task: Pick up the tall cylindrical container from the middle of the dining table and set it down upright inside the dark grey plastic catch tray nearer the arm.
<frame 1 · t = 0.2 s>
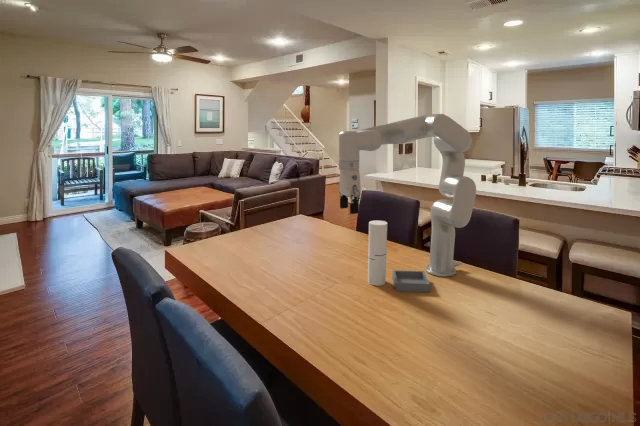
hand: (348, 210, 137), 31 cm above the table, fingers open, 9 cm apart
cylindrical container: (376, 282, 147), on the table
catch tray: (410, 284, 144), on the table
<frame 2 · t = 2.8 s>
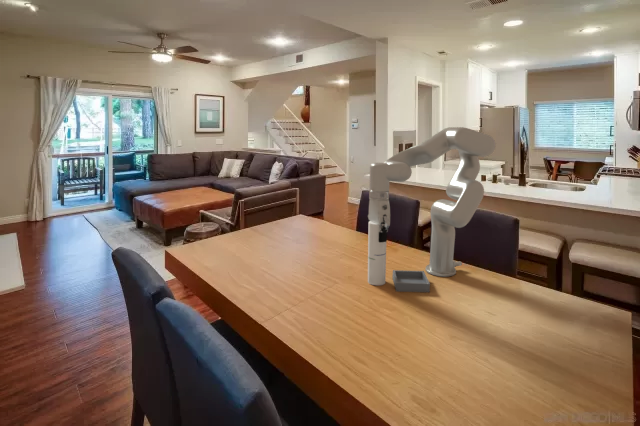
hand: (377, 238, 144), 18 cm above the table, fingers closed on cylindrical container, 7 cm apart
cylindrical container: (376, 282, 147), on the table, touching gripper
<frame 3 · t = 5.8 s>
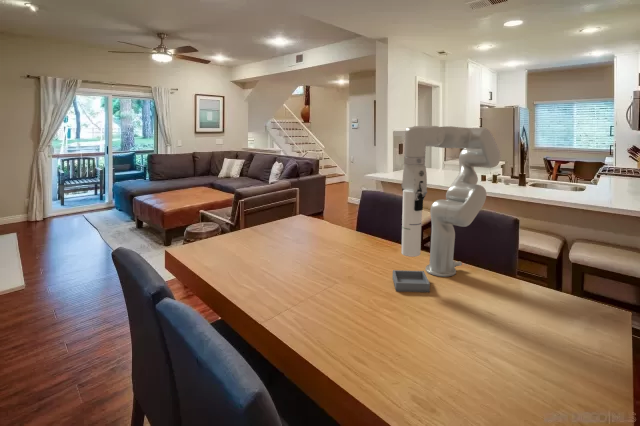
hand: (412, 207, 137), 31 cm above the table, fingers closed on cylindrical container, 7 cm apart
cylindrical container: (410, 253, 141), point 13 cm above the table, touching gripper
when the fingers open (21 cm above the table, at t = 8.9 s): cylindrical container drops 1 cm, resting on catch tray.
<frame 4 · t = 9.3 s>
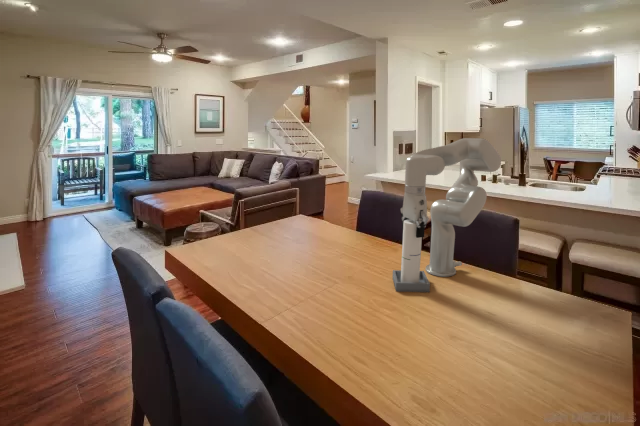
hand: (412, 233, 139), 21 cm above the table, fingers open, 9 cm apart
cylindrical container: (409, 282, 144), point 1 cm above the table, touching catch tray
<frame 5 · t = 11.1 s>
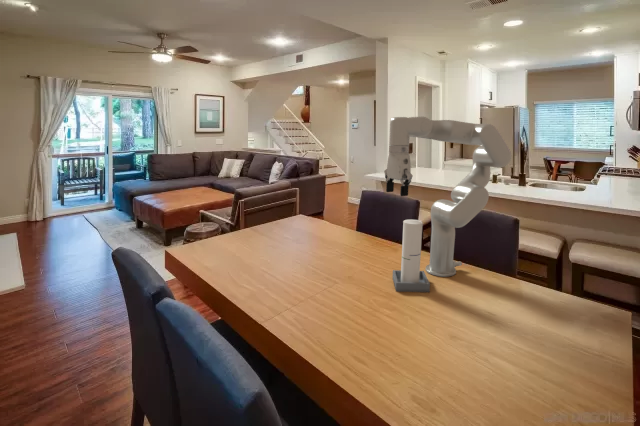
hand: (396, 193, 143), 36 cm above the table, fingers open, 9 cm apart
nothing on the table moved.
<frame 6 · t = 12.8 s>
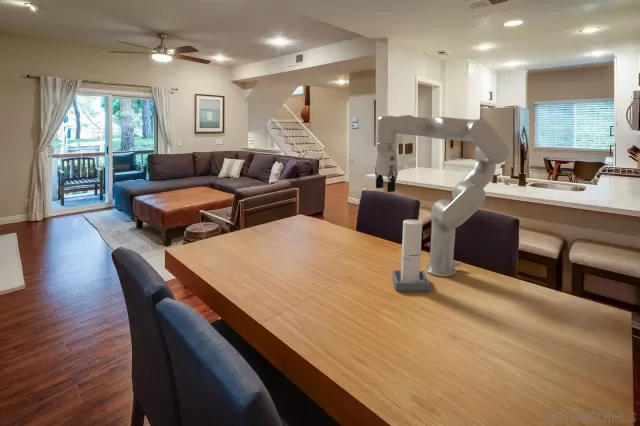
hand: (385, 189, 149), 36 cm above the table, fingers open, 9 cm apart
nothing on the table moved.
at the end: cylindrical container 0.3 cm off-centre on the catch tray, point 0.8 cm above the catch tray's base; cylindrical container tilted 0°; the gripper is holding nothing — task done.
